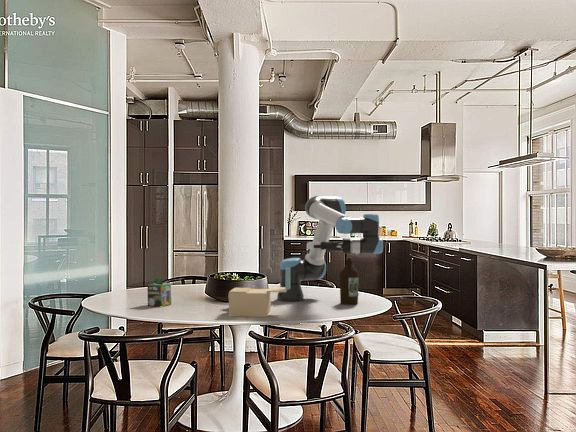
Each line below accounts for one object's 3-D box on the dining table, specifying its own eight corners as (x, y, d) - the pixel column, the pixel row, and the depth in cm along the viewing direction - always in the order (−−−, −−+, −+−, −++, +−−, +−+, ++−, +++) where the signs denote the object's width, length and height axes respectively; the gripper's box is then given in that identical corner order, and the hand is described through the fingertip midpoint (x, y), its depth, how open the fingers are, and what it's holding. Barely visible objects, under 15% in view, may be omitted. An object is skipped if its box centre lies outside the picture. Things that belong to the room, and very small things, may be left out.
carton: (234, 310, 283) (234, 287, 283) (270, 310, 282) (270, 287, 282) (228, 316, 267) (228, 291, 267) (266, 316, 266) (266, 292, 266)
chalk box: (171, 304, 302) (171, 277, 302) (161, 307, 294) (161, 278, 294) (157, 303, 306) (157, 276, 306) (146, 305, 298) (146, 278, 298)
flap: (270, 288, 281) (270, 266, 281) (291, 288, 280) (291, 266, 280) (266, 292, 267) (266, 269, 267) (288, 292, 266) (288, 269, 266)
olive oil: (335, 303, 308) (335, 257, 308) (350, 301, 314) (350, 256, 314) (347, 305, 299) (347, 258, 299) (362, 303, 305) (363, 257, 305)
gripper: (351, 255, 262) (306, 254, 264) (350, 251, 287) (308, 251, 288) (351, 239, 262) (306, 238, 264) (350, 236, 287) (308, 236, 288)
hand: (307, 245), depth 276 cm, fingers open, 13 cm apart
